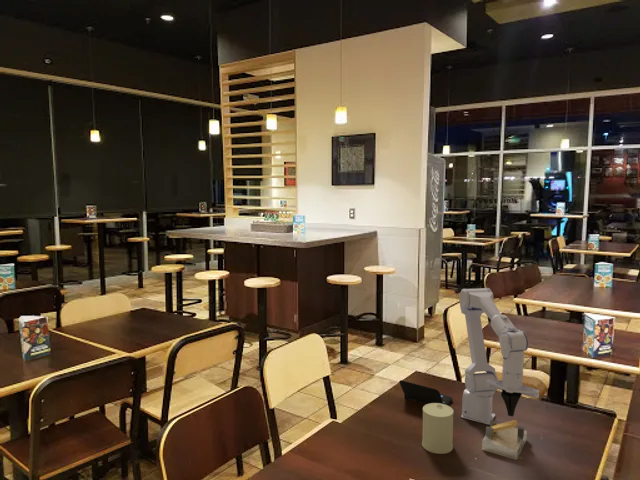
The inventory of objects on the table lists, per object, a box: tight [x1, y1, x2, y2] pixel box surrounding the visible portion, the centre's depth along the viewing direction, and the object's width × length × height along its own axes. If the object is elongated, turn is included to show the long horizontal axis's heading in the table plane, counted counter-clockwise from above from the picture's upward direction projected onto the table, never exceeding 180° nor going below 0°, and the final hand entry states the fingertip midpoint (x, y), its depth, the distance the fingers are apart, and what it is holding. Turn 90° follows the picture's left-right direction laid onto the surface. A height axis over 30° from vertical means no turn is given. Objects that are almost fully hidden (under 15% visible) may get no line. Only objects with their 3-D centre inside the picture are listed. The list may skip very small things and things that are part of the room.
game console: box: [398, 379, 453, 406], centre depth 175 cm, size 16×14×9 cm
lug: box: [517, 425, 526, 437], centre depth 146 cm, size 2×2×2 cm
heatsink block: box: [481, 419, 528, 461], centre depth 146 cm, size 10×13×5 cm
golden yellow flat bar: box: [491, 419, 518, 432], centre depth 146 cm, size 8×3×1 cm, turn 55°
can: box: [421, 403, 455, 455], centre depth 146 cm, size 9×9×12 cm
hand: (511, 414), depth 144 cm, fingers closed
